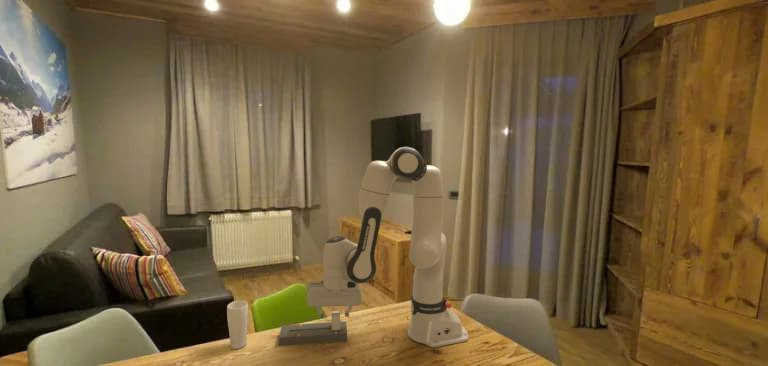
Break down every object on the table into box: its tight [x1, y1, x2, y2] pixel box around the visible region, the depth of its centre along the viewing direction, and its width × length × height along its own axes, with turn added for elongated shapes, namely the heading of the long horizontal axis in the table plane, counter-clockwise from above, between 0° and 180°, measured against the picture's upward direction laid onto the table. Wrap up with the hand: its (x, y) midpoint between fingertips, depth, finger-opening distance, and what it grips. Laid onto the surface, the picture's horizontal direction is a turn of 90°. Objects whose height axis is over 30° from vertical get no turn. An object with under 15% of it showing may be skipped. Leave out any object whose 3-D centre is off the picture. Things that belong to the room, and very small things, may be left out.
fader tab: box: [331, 310, 341, 330], centre depth 134 cm, size 3×5×5 cm, turn 9°
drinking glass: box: [226, 300, 249, 350], centre depth 126 cm, size 7×7×15 cm
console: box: [278, 321, 348, 347], centre depth 133 cm, size 24×9×3 cm, turn 99°
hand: (334, 316), depth 134 cm, fingers open, 8 cm apart
